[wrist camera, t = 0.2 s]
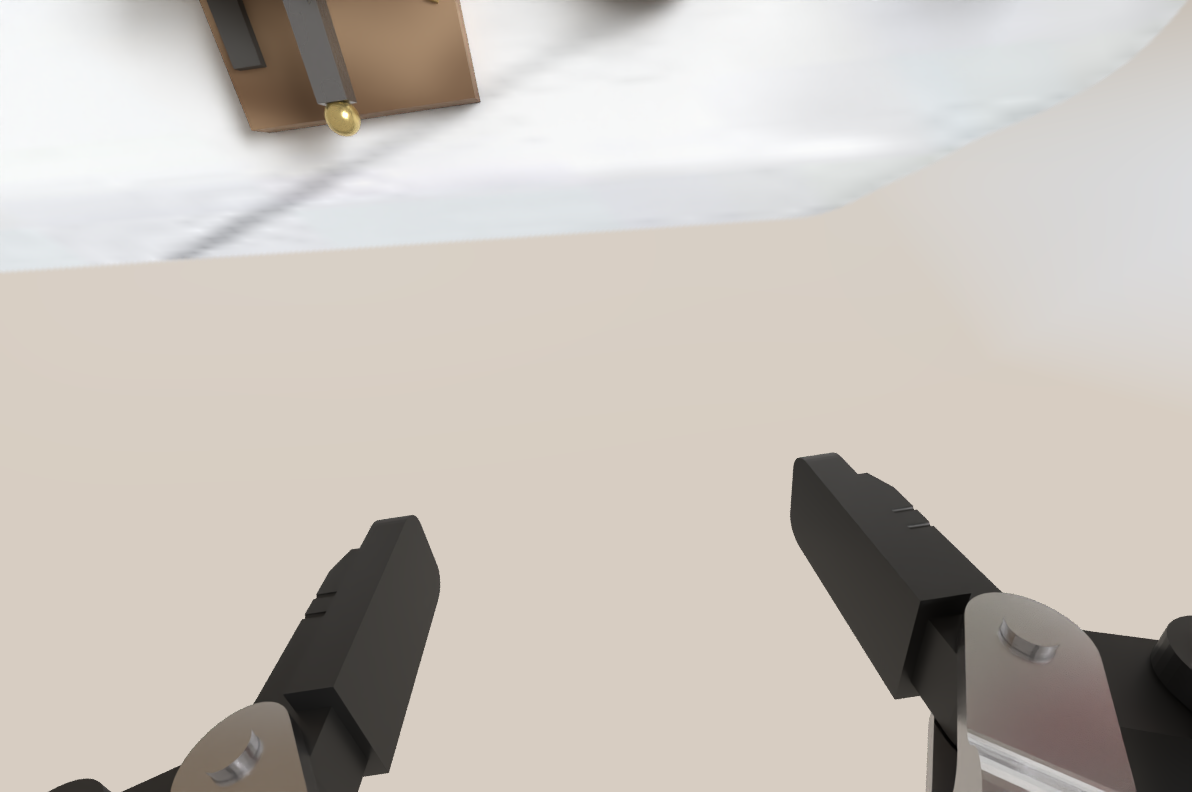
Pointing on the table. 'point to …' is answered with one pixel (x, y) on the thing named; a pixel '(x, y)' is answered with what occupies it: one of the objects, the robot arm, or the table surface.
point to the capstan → (324, 63)
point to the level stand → (345, 58)
